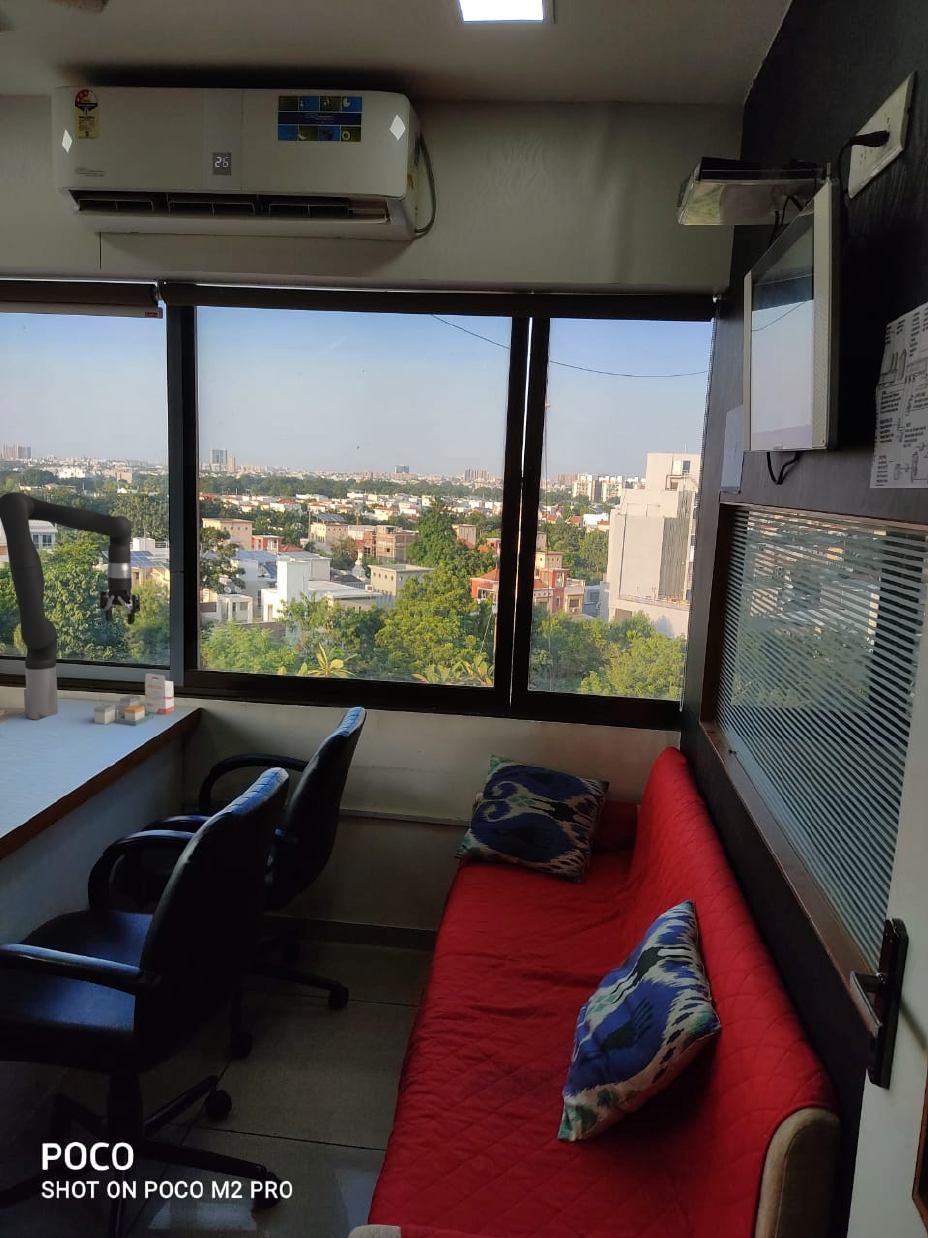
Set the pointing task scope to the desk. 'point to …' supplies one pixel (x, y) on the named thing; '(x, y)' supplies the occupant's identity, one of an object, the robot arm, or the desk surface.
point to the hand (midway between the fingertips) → (120, 622)
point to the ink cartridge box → (158, 694)
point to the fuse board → (108, 713)
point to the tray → (131, 722)
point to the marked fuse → (134, 712)
